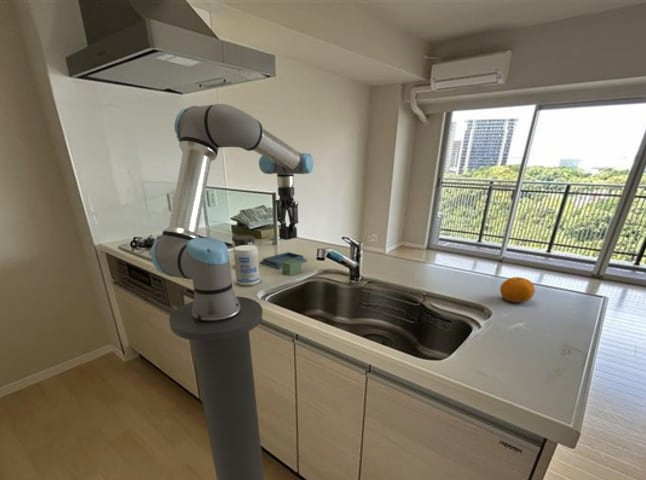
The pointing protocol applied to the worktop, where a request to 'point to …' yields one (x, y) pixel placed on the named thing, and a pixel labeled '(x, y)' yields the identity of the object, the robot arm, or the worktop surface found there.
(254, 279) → the supplement tub
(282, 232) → the charcoal block
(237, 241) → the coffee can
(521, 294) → the fruit
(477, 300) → the worktop surface
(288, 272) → the sage pad
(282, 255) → the blue tray
